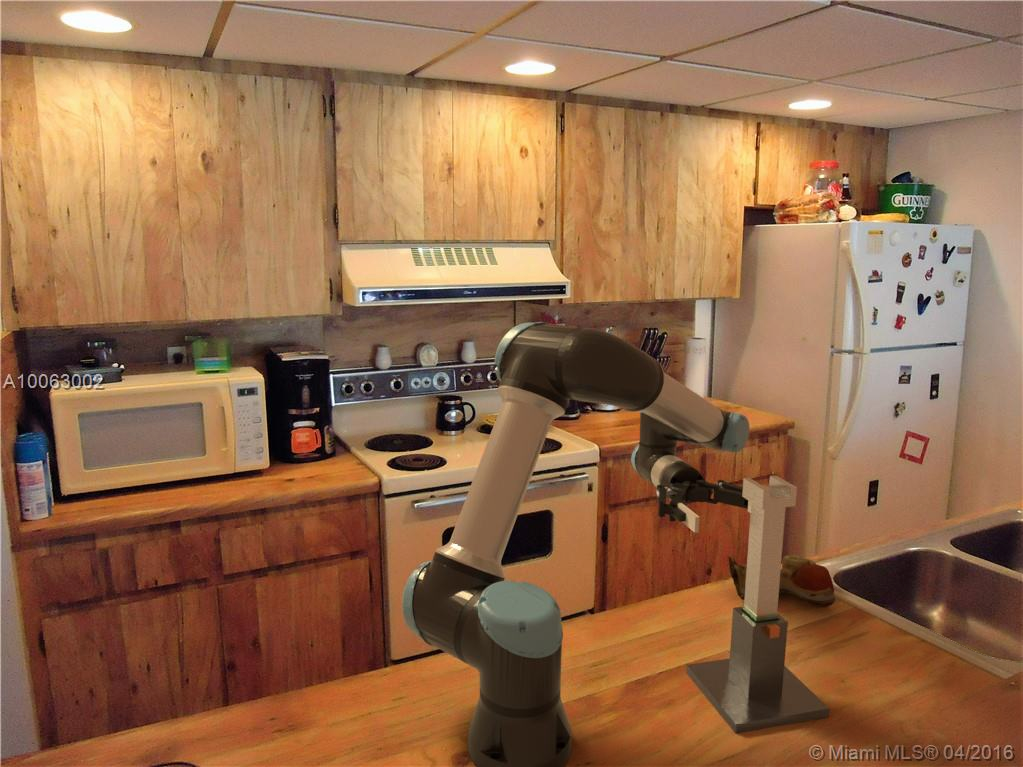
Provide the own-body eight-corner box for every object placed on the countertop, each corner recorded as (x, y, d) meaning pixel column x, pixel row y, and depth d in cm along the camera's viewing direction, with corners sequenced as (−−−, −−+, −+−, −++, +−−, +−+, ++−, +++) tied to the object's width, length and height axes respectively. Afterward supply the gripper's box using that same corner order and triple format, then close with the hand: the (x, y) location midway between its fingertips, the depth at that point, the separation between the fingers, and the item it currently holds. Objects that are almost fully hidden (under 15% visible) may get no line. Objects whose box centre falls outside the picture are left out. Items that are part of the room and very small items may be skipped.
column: (751, 661, 116) (763, 490, 110) (732, 642, 121) (743, 478, 116) (783, 656, 117) (797, 487, 112) (763, 637, 123) (775, 475, 117)
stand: (735, 733, 111) (741, 648, 108) (686, 672, 127) (690, 596, 124) (828, 717, 115) (836, 634, 112) (769, 660, 130) (775, 586, 127)
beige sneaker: (721, 547, 157) (814, 540, 158) (721, 585, 160) (812, 578, 160) (746, 582, 143) (848, 575, 144) (745, 624, 145) (846, 616, 146)
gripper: (734, 493, 148) (798, 535, 128) (616, 503, 142) (664, 549, 122) (736, 457, 147) (802, 493, 126) (617, 466, 141) (666, 506, 121)
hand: (734, 521), depth 124 cm, fingers open, 13 cm apart
